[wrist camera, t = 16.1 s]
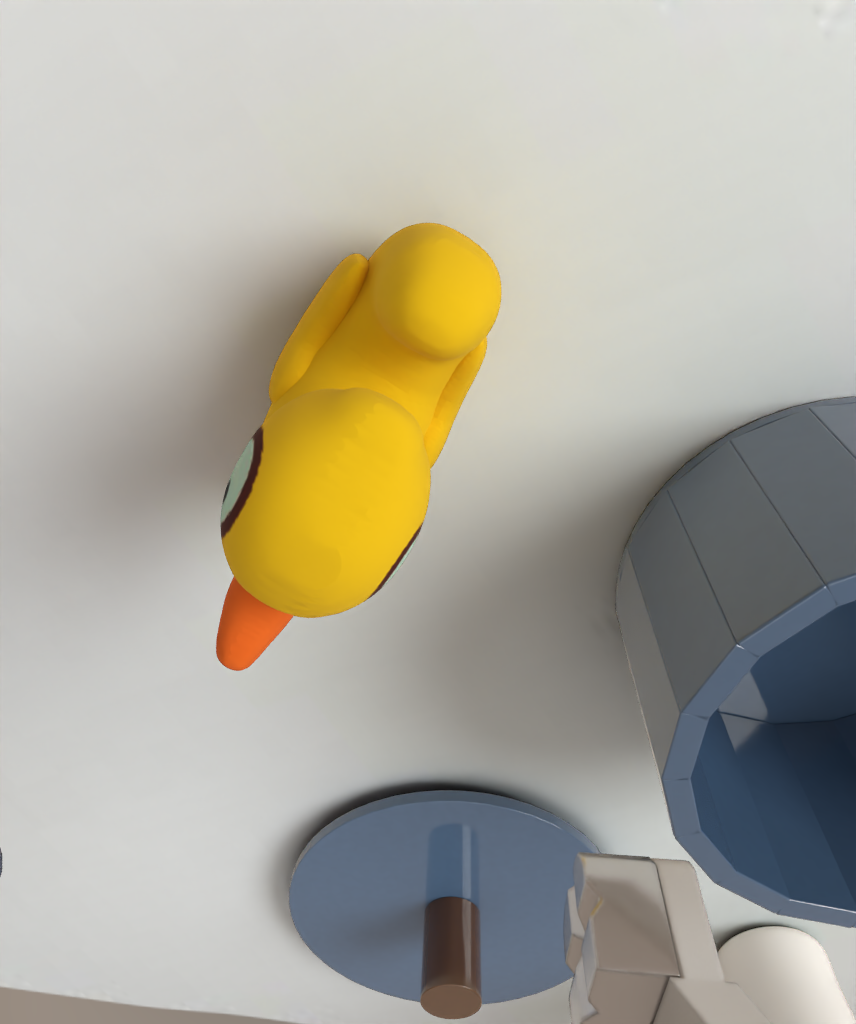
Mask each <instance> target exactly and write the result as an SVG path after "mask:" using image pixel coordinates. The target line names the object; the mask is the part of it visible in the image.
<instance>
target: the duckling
mask: <svg viewBox="0 0 856 1024" xmlns="http://www.w3.org/2000/svg"><path fill="white" fill-rule="evenodd" d="M500 303H501V281H500V276H499V273H498V270H497V268H496V266H495V264H494V262H493V260H492V259H491V258H490V256H489V255H488V254H487V253H486V252H485V251H484V250H483V249H482V248H481V247H480V246H479V245H477V244H476V243H475V242H473V241H472V240H471V239H469V238H468V237H466V236H465V235H463V234H461V233H459V232H458V231H456V230H454V229H452V228H450V227H447V226H444V225H441V224H435V223H420V224H415V225H411V226H408V227H406V228H403V229H401V230H400V231H398V232H396V233H395V234H393V235H392V236H391V237H389V238H388V239H387V240H386V241H385V242H384V243H383V244H382V245H381V246H380V247H379V248H378V249H377V250H376V251H375V252H374V254H373V255H372V256H371V257H370V259H369V260H367V259H366V258H365V257H364V256H362V255H360V254H352V255H349V256H348V257H346V258H345V259H344V260H343V261H342V262H341V263H340V264H339V265H338V266H337V267H336V268H335V269H334V271H333V272H332V273H331V275H330V276H329V277H328V279H327V280H326V281H325V283H324V284H323V286H322V287H321V289H320V290H319V292H318V293H317V295H316V296H315V298H314V299H313V301H312V302H311V304H310V305H309V307H308V308H307V310H306V312H305V313H304V315H303V316H302V318H301V320H300V321H299V323H298V325H297V326H296V328H295V330H294V331H293V333H292V335H291V336H290V338H289V340H288V341H287V343H286V345H285V347H284V348H283V350H282V352H281V354H280V356H279V358H278V360H277V362H276V365H275V367H274V370H273V373H272V376H271V380H270V384H269V397H270V400H271V402H272V404H271V406H270V408H269V411H268V413H267V415H266V418H265V420H264V423H263V424H262V425H261V427H260V428H259V429H258V430H257V431H256V433H255V434H254V436H253V437H252V438H251V440H250V441H249V443H248V445H247V446H246V448H245V450H244V451H243V453H242V455H241V457H240V458H239V460H238V462H237V464H236V466H235V468H234V470H233V472H232V475H231V477H230V480H229V482H228V485H227V488H226V491H225V495H224V499H223V504H222V510H221V538H222V544H223V549H224V553H225V556H226V559H227V562H228V564H229V566H230V569H231V571H232V573H233V575H234V578H233V580H232V582H231V584H230V587H229V589H228V592H227V595H226V598H225V602H224V605H223V610H222V614H221V619H220V624H219V629H218V634H217V641H216V653H217V657H218V659H219V661H220V662H221V663H222V664H223V665H224V666H226V667H227V668H229V669H232V670H236V671H240V670H243V669H246V668H248V667H249V666H250V665H251V664H252V663H253V662H254V661H255V660H256V659H257V658H258V657H259V656H260V655H261V654H262V652H263V651H264V650H265V649H266V648H267V647H268V646H269V644H270V643H271V642H272V641H273V640H274V639H275V638H276V636H277V635H278V634H279V633H280V632H281V631H282V630H283V629H284V627H285V626H286V625H287V624H288V622H289V621H290V620H291V618H292V617H293V616H298V617H306V618H316V617H323V616H328V615H333V614H337V613H341V612H344V611H346V610H348V609H351V608H353V607H355V606H357V605H359V604H360V603H362V602H364V601H365V600H367V599H368V598H370V597H371V596H373V595H374V594H375V593H376V592H378V591H379V590H380V589H381V588H382V587H383V586H384V585H385V584H386V583H387V582H388V581H389V580H390V579H391V578H392V577H393V575H394V574H395V573H396V572H397V570H398V569H399V568H400V566H401V565H402V563H403V562H404V560H405V559H406V557H407V555H408V554H409V552H410V550H411V548H412V547H413V545H414V543H415V541H416V539H417V536H418V534H419V532H420V529H421V527H422V524H423V521H424V518H425V515H426V511H427V507H428V502H429V495H430V482H431V476H430V469H431V467H432V466H433V465H434V463H435V462H436V460H437V458H438V456H439V454H440V453H441V451H442V449H443V447H444V444H445V442H446V440H447V437H448V435H449V432H450V430H451V427H452V424H453V422H454V420H455V417H456V415H457V413H458V411H459V409H460V406H461V404H462V402H463V400H464V398H465V396H466V394H467V392H468V390H469V388H470V386H471V384H472V383H473V381H474V379H475V377H476V375H477V373H478V371H479V369H480V366H481V364H482V362H483V359H484V356H485V353H486V348H487V338H486V336H487V334H488V333H489V331H490V330H491V328H492V326H493V324H494V322H495V320H496V318H497V315H498V312H499V308H500Z"/></svg>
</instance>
